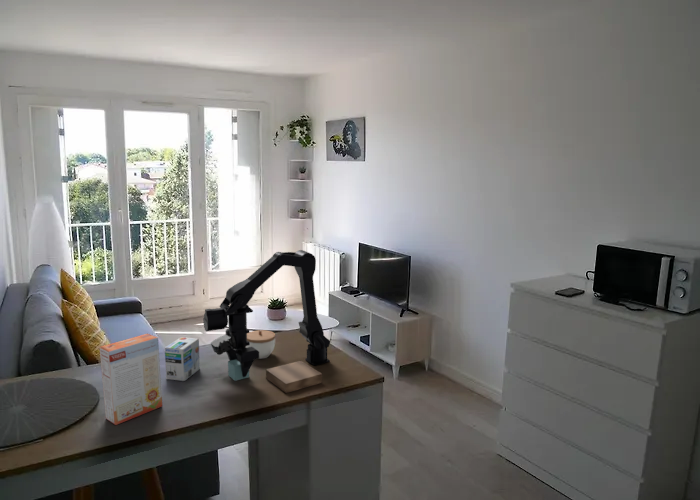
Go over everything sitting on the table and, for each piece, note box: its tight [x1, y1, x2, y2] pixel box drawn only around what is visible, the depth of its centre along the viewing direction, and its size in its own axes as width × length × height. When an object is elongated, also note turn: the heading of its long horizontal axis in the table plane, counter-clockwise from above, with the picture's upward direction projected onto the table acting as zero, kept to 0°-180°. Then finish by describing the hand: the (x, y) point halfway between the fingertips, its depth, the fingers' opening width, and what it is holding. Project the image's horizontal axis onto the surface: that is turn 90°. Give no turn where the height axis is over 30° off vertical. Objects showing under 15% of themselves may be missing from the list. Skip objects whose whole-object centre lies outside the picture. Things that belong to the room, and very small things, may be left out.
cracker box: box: [99, 333, 163, 426], centre depth 141 cm, size 14×6×21 cm, turn 140°
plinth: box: [265, 360, 323, 394], centre depth 165 cm, size 13×13×3 cm
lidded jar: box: [246, 329, 276, 360], centre depth 185 cm, size 11×11×9 cm
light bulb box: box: [164, 336, 201, 382], centre depth 168 cm, size 11×7×11 cm, turn 168°
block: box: [227, 359, 250, 382], centre depth 167 cm, size 5×5×5 cm
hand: (238, 372), depth 167 cm, fingers open, 8 cm apart
